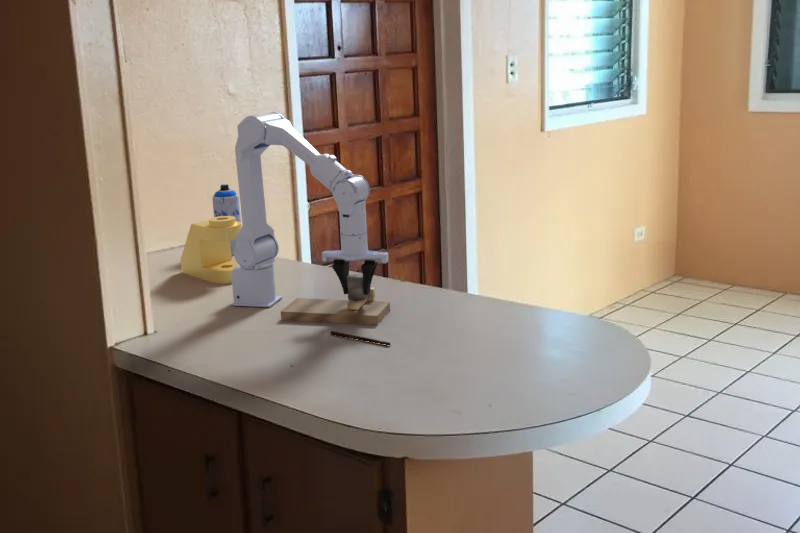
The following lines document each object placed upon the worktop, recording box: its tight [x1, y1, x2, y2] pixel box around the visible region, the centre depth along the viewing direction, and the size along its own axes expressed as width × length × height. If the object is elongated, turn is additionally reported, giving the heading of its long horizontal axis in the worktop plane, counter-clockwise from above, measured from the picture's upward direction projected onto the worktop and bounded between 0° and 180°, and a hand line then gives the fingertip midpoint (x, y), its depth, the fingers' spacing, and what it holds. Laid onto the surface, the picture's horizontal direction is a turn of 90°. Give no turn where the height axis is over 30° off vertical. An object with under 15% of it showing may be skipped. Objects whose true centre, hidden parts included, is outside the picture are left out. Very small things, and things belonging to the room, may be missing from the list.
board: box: [280, 297, 391, 325], centre depth 188 cm, size 22×10×2 cm, turn 76°
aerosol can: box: [212, 184, 242, 256], centre depth 247 cm, size 8×8×20 cm
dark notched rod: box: [329, 330, 391, 346], centre depth 172 cm, size 15×1×1 cm, turn 56°
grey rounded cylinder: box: [347, 273, 376, 310], centre depth 188 cm, size 5×9×8 cm, turn 166°
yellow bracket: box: [179, 216, 242, 285], centre depth 224 cm, size 20×9×16 cm, turn 44°
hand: (356, 293), depth 187 cm, fingers closed on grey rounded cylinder, 4 cm apart
